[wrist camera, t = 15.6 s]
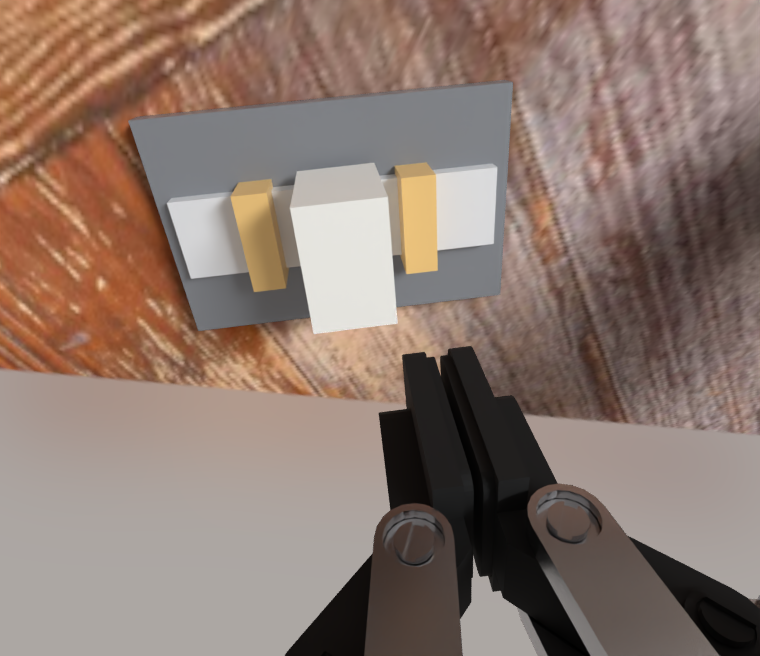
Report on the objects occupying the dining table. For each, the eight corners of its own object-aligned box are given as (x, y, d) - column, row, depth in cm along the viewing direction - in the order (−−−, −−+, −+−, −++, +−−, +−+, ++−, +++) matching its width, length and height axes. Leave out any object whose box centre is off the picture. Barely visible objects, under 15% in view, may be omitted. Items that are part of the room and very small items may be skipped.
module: (374, 162, 28) (387, 196, 22) (384, 272, 32) (397, 326, 26) (296, 171, 28) (289, 208, 22) (315, 280, 32) (314, 337, 26)
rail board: (504, 80, 29) (532, 87, 25) (493, 285, 36) (513, 314, 33) (137, 116, 28) (107, 129, 24) (202, 320, 36) (188, 354, 32)
